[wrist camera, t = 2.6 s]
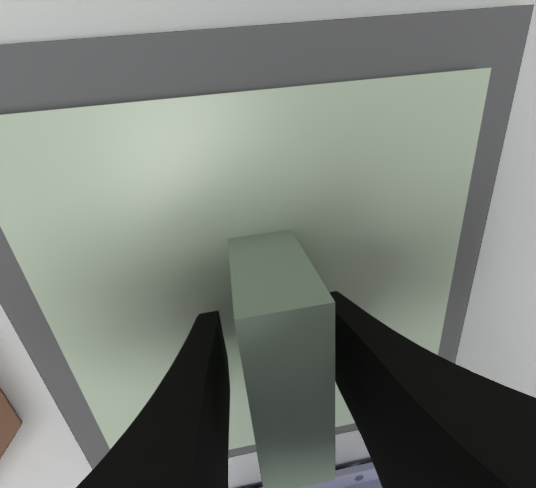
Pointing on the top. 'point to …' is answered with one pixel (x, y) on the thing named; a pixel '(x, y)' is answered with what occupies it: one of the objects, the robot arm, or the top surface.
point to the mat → (248, 79)
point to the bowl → (7, 424)
